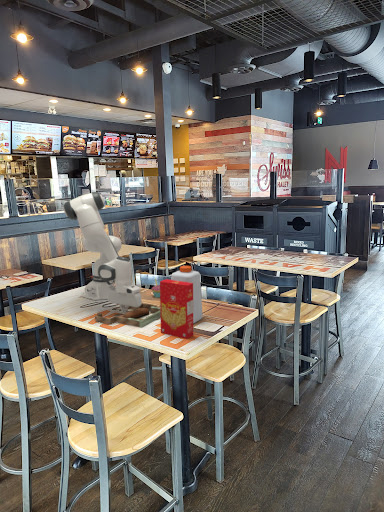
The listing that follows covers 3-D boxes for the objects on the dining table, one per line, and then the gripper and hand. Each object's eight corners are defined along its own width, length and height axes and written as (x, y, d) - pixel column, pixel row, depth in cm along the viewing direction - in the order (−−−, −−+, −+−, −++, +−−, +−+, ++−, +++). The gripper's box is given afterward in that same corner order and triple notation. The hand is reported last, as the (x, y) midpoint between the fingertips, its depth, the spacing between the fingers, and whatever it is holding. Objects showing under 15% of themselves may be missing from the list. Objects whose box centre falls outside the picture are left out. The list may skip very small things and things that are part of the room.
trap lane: (92, 321, 198) (92, 315, 197) (127, 305, 224) (127, 300, 223) (136, 330, 185) (136, 323, 185) (168, 312, 211) (168, 306, 211)
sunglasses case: (139, 311, 214) (143, 302, 210) (146, 319, 210) (150, 310, 207) (113, 319, 200) (117, 310, 197) (121, 328, 197) (125, 319, 194)
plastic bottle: (191, 326, 190) (191, 271, 185) (165, 321, 197) (165, 267, 193) (205, 317, 203) (205, 265, 198) (180, 313, 210) (180, 262, 206)
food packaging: (160, 332, 182) (159, 281, 177) (167, 329, 186) (166, 279, 182) (187, 339, 174) (186, 285, 170) (193, 335, 179) (193, 283, 174)
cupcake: (149, 297, 240) (148, 278, 238) (155, 294, 248) (154, 275, 246) (161, 298, 238) (161, 279, 235) (167, 295, 245) (167, 276, 243)
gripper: (104, 286, 206) (105, 311, 208) (135, 291, 196) (136, 317, 199) (112, 284, 211) (113, 308, 214) (143, 288, 202) (143, 313, 204)
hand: (124, 312), depth 206 cm, fingers closed
